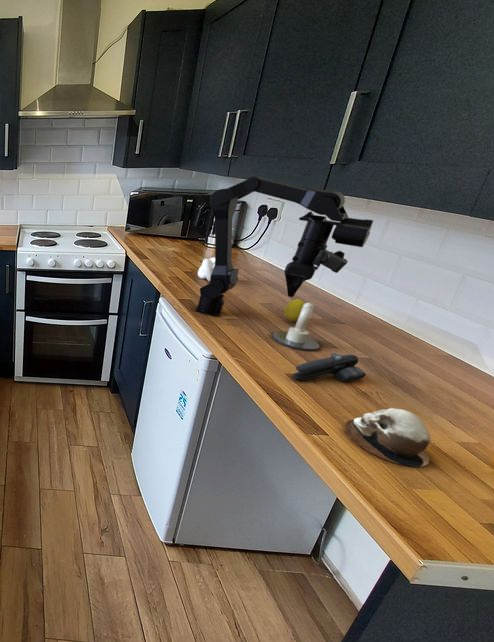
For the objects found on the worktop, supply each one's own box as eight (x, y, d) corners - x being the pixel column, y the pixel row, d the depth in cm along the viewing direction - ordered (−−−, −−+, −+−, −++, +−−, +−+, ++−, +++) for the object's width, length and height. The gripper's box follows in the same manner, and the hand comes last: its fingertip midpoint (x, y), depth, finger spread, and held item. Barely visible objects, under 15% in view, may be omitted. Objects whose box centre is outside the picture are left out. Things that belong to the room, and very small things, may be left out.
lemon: (295, 319, 131) (304, 296, 127) (306, 326, 126) (315, 302, 122) (277, 317, 131) (285, 295, 128) (287, 324, 126) (296, 301, 123)
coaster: (268, 341, 115) (269, 339, 114) (275, 330, 122) (276, 328, 122) (316, 354, 108) (317, 353, 108) (320, 342, 115) (321, 340, 115)
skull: (324, 418, 80) (371, 385, 78) (347, 446, 83) (393, 415, 81) (382, 460, 69) (440, 424, 67) (406, 490, 72) (462, 456, 70)
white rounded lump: (225, 278, 169) (231, 257, 165) (230, 286, 159) (236, 265, 155) (196, 274, 172) (201, 254, 169) (198, 282, 162) (204, 261, 159)
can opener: (339, 367, 102) (348, 348, 100) (367, 382, 96) (377, 362, 93) (279, 371, 99) (287, 351, 97) (304, 387, 93) (313, 366, 90)
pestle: (284, 339, 115) (298, 302, 110) (287, 334, 118) (301, 298, 113) (304, 345, 112) (319, 307, 107) (306, 339, 115) (321, 302, 110)
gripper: (349, 251, 97) (324, 309, 104) (354, 240, 110) (331, 293, 117) (294, 242, 104) (274, 297, 111) (305, 232, 117) (286, 283, 123)
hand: (293, 293), depth 115 cm, fingers open, 9 cm apart
